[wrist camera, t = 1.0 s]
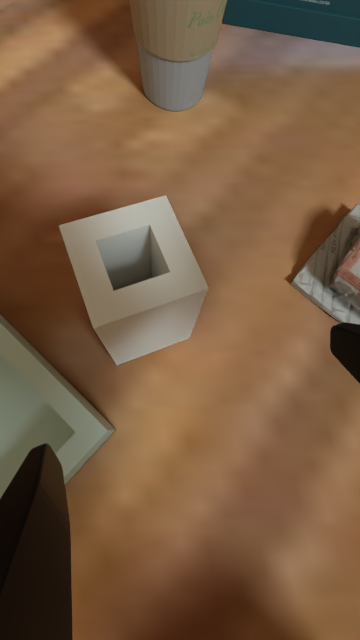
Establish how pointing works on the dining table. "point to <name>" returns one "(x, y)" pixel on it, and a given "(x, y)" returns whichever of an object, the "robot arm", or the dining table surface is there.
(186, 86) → the coffee cup
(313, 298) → the packaged product
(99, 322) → the beige hollow square block
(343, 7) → the donation box
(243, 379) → the dining table surface
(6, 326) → the green square tray
